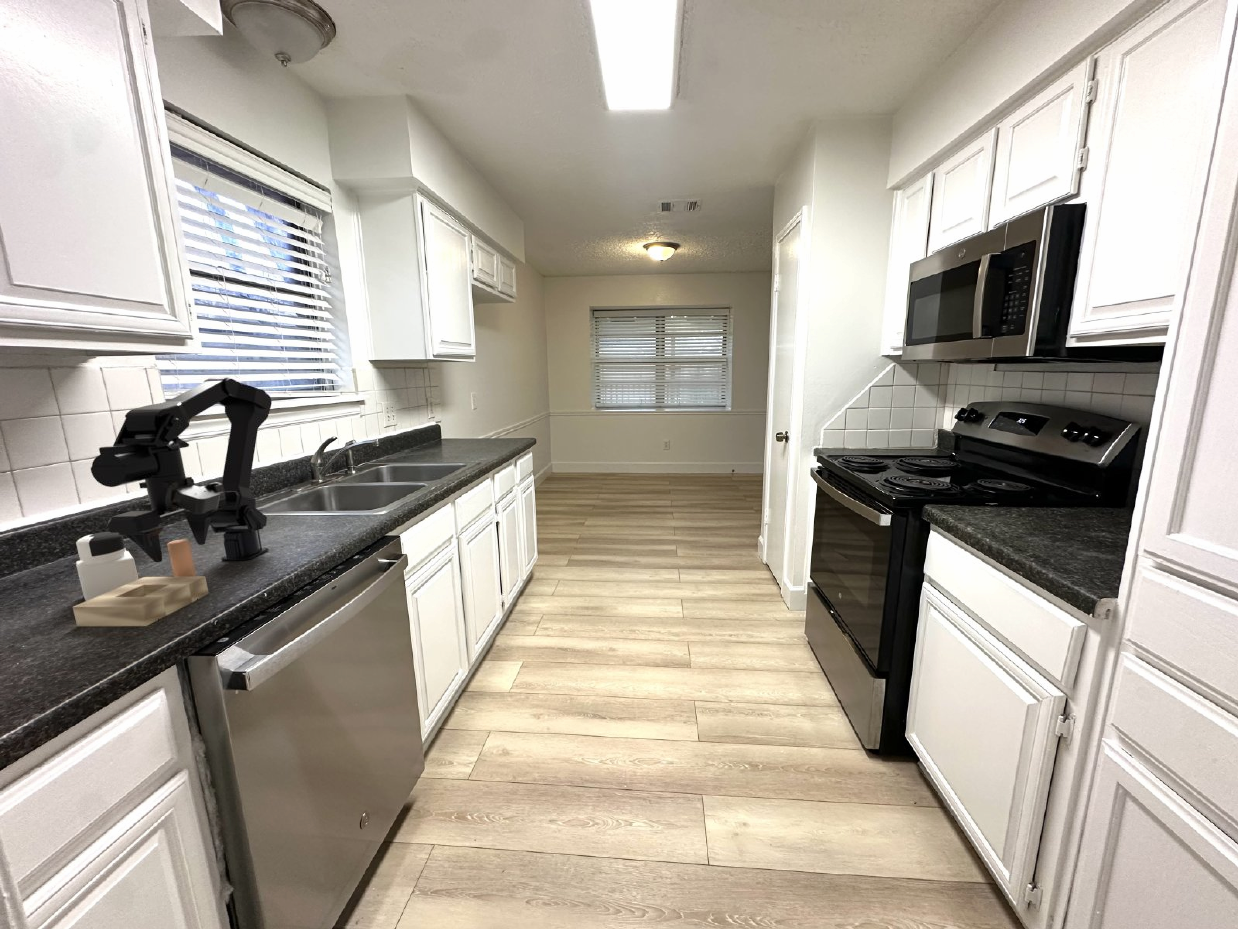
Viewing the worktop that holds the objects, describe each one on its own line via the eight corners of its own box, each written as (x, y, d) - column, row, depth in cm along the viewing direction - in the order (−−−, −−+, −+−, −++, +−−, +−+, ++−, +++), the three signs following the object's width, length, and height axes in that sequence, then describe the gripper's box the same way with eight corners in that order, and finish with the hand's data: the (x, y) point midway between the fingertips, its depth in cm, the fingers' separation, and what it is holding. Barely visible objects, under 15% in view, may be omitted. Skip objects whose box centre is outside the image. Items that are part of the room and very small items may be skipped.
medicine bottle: (135, 583, 99) (122, 526, 97) (141, 593, 95) (128, 533, 92) (83, 596, 94) (69, 536, 92) (87, 607, 89) (72, 543, 87)
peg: (186, 582, 99) (177, 539, 98) (201, 581, 99) (193, 538, 98) (171, 588, 96) (162, 544, 95) (187, 588, 96) (178, 544, 94)
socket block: (147, 594, 94) (144, 577, 93) (208, 593, 93) (205, 576, 93) (77, 626, 82) (72, 606, 81) (146, 626, 82) (142, 606, 81)
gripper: (158, 485, 84) (176, 571, 87) (244, 464, 102) (257, 536, 105) (96, 486, 85) (116, 572, 88) (193, 465, 103) (207, 537, 106)
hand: (181, 552), depth 97 cm, fingers open, 9 cm apart
